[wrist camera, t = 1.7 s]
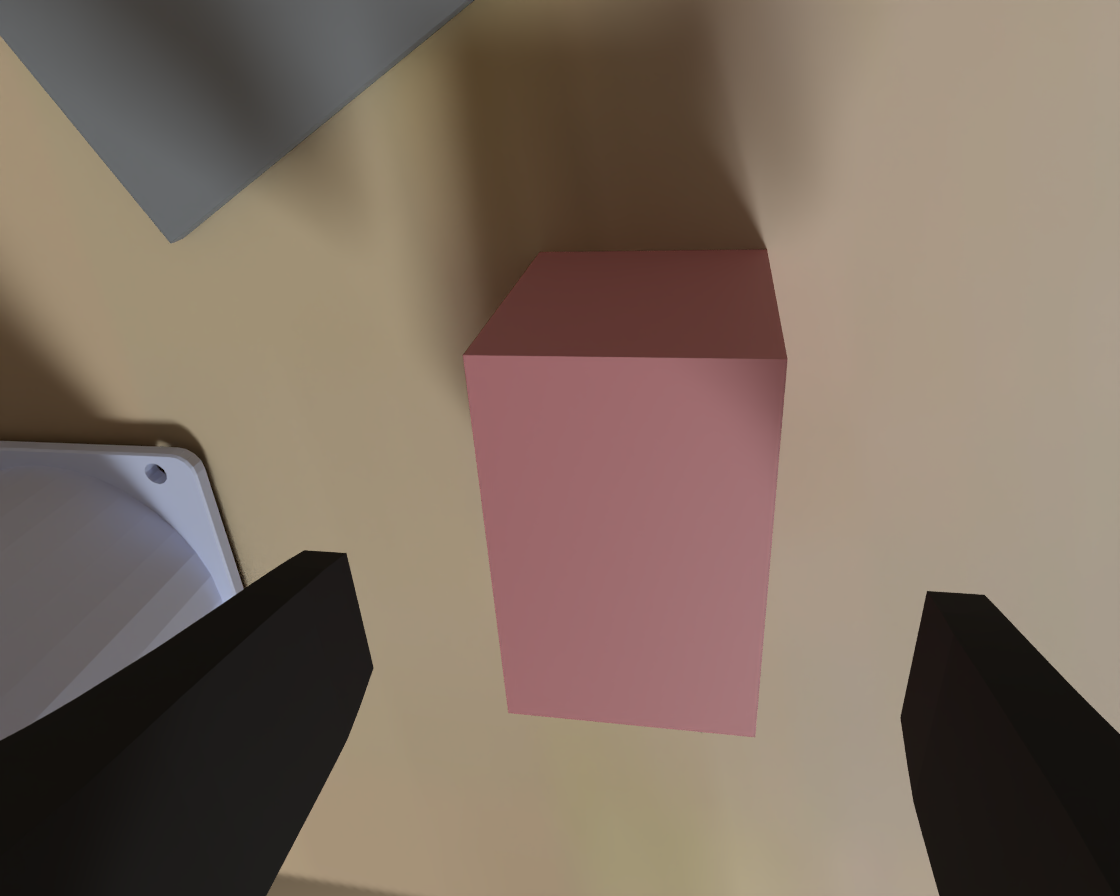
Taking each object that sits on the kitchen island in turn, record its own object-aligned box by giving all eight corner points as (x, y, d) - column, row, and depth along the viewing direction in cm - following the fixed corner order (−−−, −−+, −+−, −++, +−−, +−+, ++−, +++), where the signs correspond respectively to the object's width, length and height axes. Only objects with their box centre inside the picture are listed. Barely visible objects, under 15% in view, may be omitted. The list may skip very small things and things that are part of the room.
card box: (560, 538, 17) (508, 713, 13) (540, 250, 14) (462, 354, 10) (746, 548, 17) (754, 737, 12) (767, 247, 14) (787, 359, 9)
